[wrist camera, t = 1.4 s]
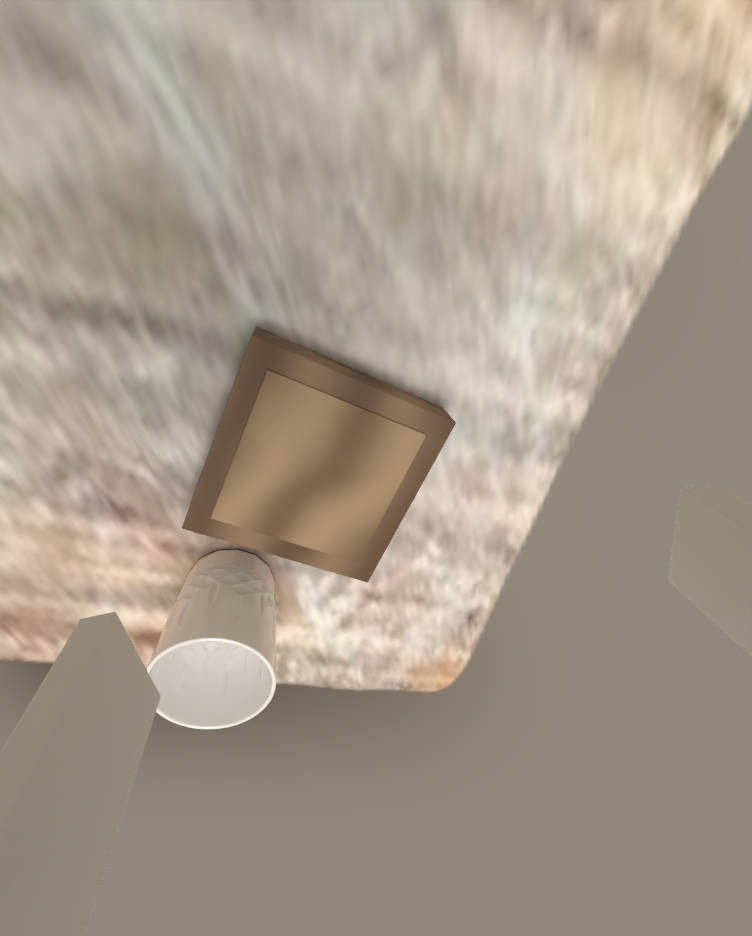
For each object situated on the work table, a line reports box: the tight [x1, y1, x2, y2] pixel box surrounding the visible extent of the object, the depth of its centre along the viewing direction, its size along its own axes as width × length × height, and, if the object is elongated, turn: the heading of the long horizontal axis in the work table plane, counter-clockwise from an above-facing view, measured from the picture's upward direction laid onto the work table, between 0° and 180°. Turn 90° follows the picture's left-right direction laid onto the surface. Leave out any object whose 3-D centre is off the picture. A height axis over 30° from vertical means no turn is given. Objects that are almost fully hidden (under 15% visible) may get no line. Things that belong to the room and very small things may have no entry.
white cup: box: [146, 549, 276, 729], centre depth 34 cm, size 8×8×10 cm
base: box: [182, 327, 455, 582], centre depth 33 cm, size 14×14×3 cm
